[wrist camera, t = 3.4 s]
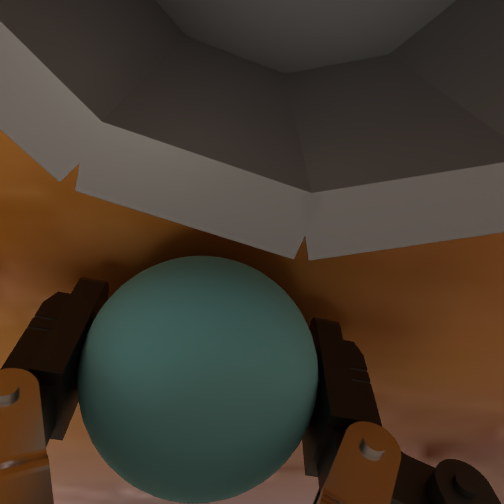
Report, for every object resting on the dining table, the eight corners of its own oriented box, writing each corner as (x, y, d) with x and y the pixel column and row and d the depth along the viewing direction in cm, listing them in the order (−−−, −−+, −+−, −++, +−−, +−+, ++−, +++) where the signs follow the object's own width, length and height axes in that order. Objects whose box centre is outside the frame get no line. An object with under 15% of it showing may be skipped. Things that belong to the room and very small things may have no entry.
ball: (345, 310, 15) (391, 491, 10) (206, 395, 17) (184, 582, 12) (216, 173, 13) (188, 317, 8) (73, 291, 15) (-25, 467, 10)
